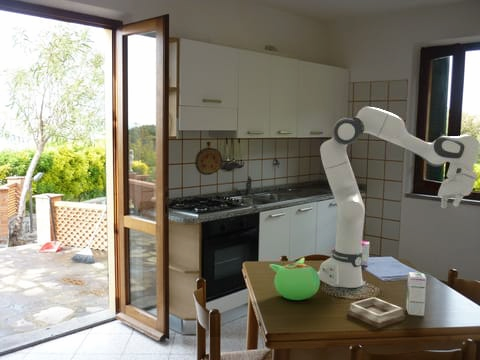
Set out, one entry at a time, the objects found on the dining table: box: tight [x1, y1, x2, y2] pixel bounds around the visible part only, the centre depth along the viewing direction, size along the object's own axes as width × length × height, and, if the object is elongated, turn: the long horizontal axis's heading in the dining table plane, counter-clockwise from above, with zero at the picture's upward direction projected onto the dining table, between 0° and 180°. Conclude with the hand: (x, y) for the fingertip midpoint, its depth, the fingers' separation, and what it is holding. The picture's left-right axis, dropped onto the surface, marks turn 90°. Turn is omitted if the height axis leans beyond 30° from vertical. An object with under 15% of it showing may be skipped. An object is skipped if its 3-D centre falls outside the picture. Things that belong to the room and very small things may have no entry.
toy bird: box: [268, 257, 321, 301], centre depth 181 cm, size 18×17×15 cm
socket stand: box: [347, 296, 406, 329], centre depth 166 cm, size 14×14×4 cm
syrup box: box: [405, 271, 427, 317], centre depth 170 cm, size 6×6×14 cm
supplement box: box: [361, 240, 370, 268], centre depth 230 cm, size 6×6×12 cm
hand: (449, 206), depth 183 cm, fingers open, 8 cm apart
